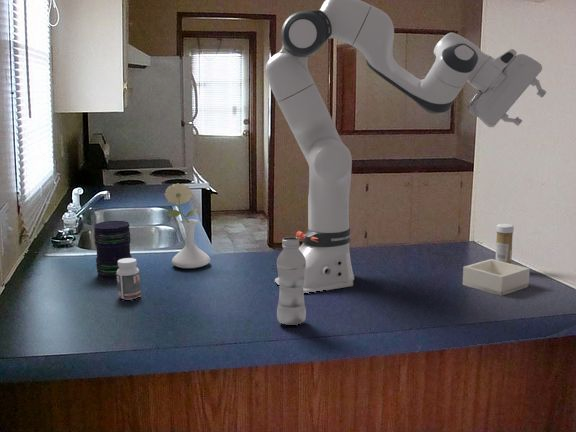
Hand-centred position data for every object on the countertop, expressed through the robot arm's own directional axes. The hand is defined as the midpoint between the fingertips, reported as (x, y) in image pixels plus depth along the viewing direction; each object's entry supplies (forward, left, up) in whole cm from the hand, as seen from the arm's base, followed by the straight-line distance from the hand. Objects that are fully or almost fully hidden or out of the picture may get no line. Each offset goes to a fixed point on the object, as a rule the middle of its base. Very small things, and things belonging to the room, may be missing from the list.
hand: (532, 109), depth 174 cm
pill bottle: (-91, +54, -46) cm, 115 cm away
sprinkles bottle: (+2, +8, -46) cm, 47 cm away
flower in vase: (-65, +70, -46) cm, 106 cm away
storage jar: (-86, +75, -46) cm, 123 cm away
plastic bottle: (-70, +13, -46) cm, 85 cm away
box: (-11, +1, -46) cm, 47 cm away
